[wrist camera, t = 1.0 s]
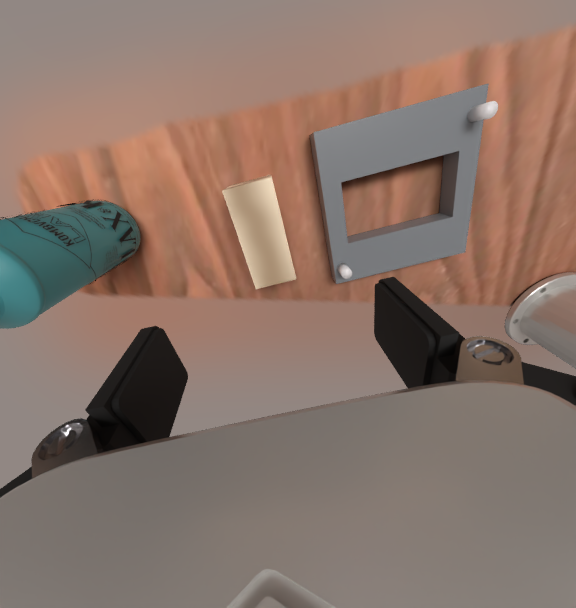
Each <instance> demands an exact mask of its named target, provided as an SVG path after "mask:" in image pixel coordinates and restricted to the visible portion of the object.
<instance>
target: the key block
mask: <svg viewBox="0 0 576 608" xmlns="http://www.w3.org/2000/svg"><path fill="white" fill-rule="evenodd" d="M222 192H223V195H224V198H225V200H226V203H227V206H228V209H229V212H230V215H231V218H232V221H233V224H234V227H235V230H236V233H237V235H238V238H239V241H240V244H241V247H242V250H243V253H244V256H245V259H246V262H247V265H248V268H249V270H250V273H251V276H252V279H253V282H254V285H255V288H256V289H259V288H263V287H267V286H271V285H275V284H279V283H283V282H287V281H291V280H295V279H296V276H295V271H294V267H293V263H292V259H291V255H290V251H289V247H288V242H287V238H286V234H285V230H284V226H283V222H282V218H281V214H280V209H279V205H278V201H277V197H276V193H275V189H274V185H273V181H272V177H271V175H267V176H264V177H260V178H256V179H253V180H249V181H245V182H242V183H238V184H235V185H231V186H229V187H227V188H226V189H224V190H223V191H222Z"/></svg>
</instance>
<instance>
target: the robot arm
mask: <svg viewBox="0 0 576 608" xmlns="http://www.w3.org/2000/svg"><path fill="white" fill-rule="evenodd" d="M374 317H375V318H374V334H375V337H376V340H377V342H378V343H379V345H380V346H381V348H382V349H383V351H384V353H385V354H386V355H387V357H388V359H389V360H390V361H391V363H392V365H393V366H394V368H395V369H396V371H397V372H398V374H399V375H400V377H401V378H402V380H403V381H404V383H405V384H406V386H407V387H408V389H403V390H397V391H392V392H386V393H381V394H376V395H371V396H366V397H361V398H356V399H351V400H346V401H341V402H336V403H331V404H326V405H321V406H316V407H311V408H306V409H302V410H297V411H292V412H287V413H282V414H277V415H272V416H267V417H263V418H258V419H254V420H248V421H244V422H239V423H234V424H229V425H225V426H220V427H215V428H210V429H206V430H201V431H196V432H192V433H187V434H183V435H177V436H173V437H169V436H170V433H171V429H172V426H173V423H174V420H175V417H176V414H177V411H178V407H179V405H180V401H181V398H182V395H183V392H184V389H185V386H186V383H187V379H188V374H187V371H186V369H185V367H184V366H183V364H182V362H181V360H180V358H179V357H178V355H177V353H176V352H175V349H174V348H173V346H172V344H171V342H170V341H169V338H168V337H167V335H166V333H165V331H164V330H163V329H161V328H159V327H157V326H154V327H148V328H144V329H141V330H140V332H139V333H138V335H137V336H136V337H135V339H134V340H133V342H132V343H131V345H130V346H129V348H128V349H127V351H126V352H125V353H124V355H123V356H122V358H121V359H120V361H119V362H118V364H117V365H116V366H115V368H114V369H113V371H112V372H111V374H110V375H109V376H108V378H107V379H106V381H105V382H104V384H103V385H102V387H101V388H100V389H99V391H98V392H97V394H96V395H95V397H94V398H93V400H92V401H91V403H90V404H89V405H88V407H87V408H86V411H87V413H88V414H89V417H88V418H87V420H85V419H82V418H80V419H74V420H71V421H68V422H66V423H64V424H62V425H61V426H59V427H58V428H56V429H55V430H53V431H52V432H51V433H50V434H48V435H47V436H46V437H45V438H44V439H43V440H42V441H41V442H40V444H39V445H38V446H37V447H36V449H35V451H34V452H33V455H32V460H31V461H32V467H30V468H29V469H28V470H26V471H25V472H24V473H22V474H21V475H19V476H18V477H17V478H15V479H14V480H12V481H11V482H10V483H8V484H7V485H6V486H4V487H3V488H1V489H0V608H576V376H572V375H569V374H564V373H561V372H557V371H554V370H550V369H546V368H542V367H539V366H535V365H531V364H527V363H523V362H521V357H520V355H519V353H518V352H517V351H516V350H515V349H514V348H513V347H512V346H510V345H509V344H507V343H505V342H503V341H500V340H498V339H494V338H490V337H483V336H477V337H470V338H467V339H465V338H464V337H463V336H461V335H460V334H459V332H458V331H456V330H455V329H454V328H453V327H452V326H450V325H449V324H448V323H447V322H446V321H445V320H443V319H442V318H441V317H440V316H439V315H438V314H437V313H435V312H434V311H433V310H432V309H431V308H430V307H428V306H427V305H426V304H425V303H424V302H423V301H421V300H420V299H419V298H418V297H417V296H416V295H414V294H413V293H412V292H411V291H410V290H409V289H407V288H406V287H405V286H404V285H403V284H402V283H400V282H399V281H398V280H397V279H396V278H394V277H391V278H386V279H381V280H379V283H378V284H375V316H374ZM505 330H506V333H507V334H508V336H509V337H510V338H512V339H513V340H514V341H516V342H518V343H520V344H525V345H535V344H539V345H541V346H542V347H544V348H545V349H547V350H548V351H550V352H551V353H553V354H554V355H556V356H557V357H559V358H560V359H562V360H563V361H565V362H566V363H568V364H569V365H571V366H572V367H574V368H575V369H576V273H574V272H568V273H561V274H557V275H554V276H551V277H548V278H546V279H544V280H542V281H540V282H538V283H536V284H535V285H533V286H532V287H530V288H529V289H528V290H527V291H525V292H524V293H523V294H522V295H521V296H520V297H519V298H518V299H517V300H516V301H515V303H514V304H513V305H512V307H511V308H510V310H509V312H508V314H507V317H506V320H505Z"/></svg>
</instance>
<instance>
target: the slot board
mask: <svg viewBox="0 0 576 608" xmlns="http://www.w3.org/2000/svg"><path fill="white" fill-rule="evenodd" d="M488 84H489V83H488ZM488 84H485V85H481V86H478V87H474V88H471V89H467V90H464V91H460V92H456V93H453V94H449V95H446V96H442V97H439V98H435V99H431V100H428V101H424V102H421V103H417V104H414V105H410V106H406V107H403V108H399V109H396V110H392V111H389V112H385V113H381V114H378V115H374V116H371V117H367V118H364V119H360V120H356V121H353V122H349V123H346V124H342V125H339V126H335V127H332V128H328V129H324V130H321V131H317V132H314V133H312V134H311V135H310V142H311V148H312V154H313V161H314V167H315V173H316V180H317V186H318V192H319V198H320V205H321V211H322V217H323V224H324V230H325V236H326V243H327V249H328V255H329V262H330V268H331V274H332V277H333V279H334V281H335V282H336V284H338V283H342V282H346V281H350V280H355V279H359V278H363V277H367V276H371V275H375V274H379V273H383V272H387V271H391V270H395V269H399V268H403V267H407V266H411V265H415V264H420V263H424V262H428V261H432V260H436V259H440V258H444V257H448V256H452V255H456V254H460V253H464V252H465V250H466V243H467V236H468V228H469V221H470V214H471V207H472V200H473V192H474V185H475V178H476V171H477V163H478V156H479V149H480V142H481V135H482V127H483V120H484V119H489V118H492V117H493V116H494V115H495V114H496V112H497V110H498V104H497V102H496V101H491V102H488V103H486V98H487V91H488ZM442 155H444V157H443V170H442V183H441V197H440V210H439V213H438V214H434V215H430V216H426V217H422V218H418V219H414V220H410V221H406V222H402V223H398V224H395V225H391V226H387V227H383V228H379V229H375V230H371V231H367V232H363V233H359V234H355V235H352V236H348V237H347V231H346V222H345V213H344V204H343V195H342V186H341V182H345V181H348V180H352V179H356V178H359V177H363V176H367V175H371V174H374V173H378V172H382V171H386V170H389V169H393V168H397V167H401V166H404V165H408V164H412V163H415V162H419V161H423V160H427V159H430V158H434V157H438V156H442Z"/></svg>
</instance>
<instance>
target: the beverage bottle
mask: <svg viewBox="0 0 576 608" xmlns="http://www.w3.org/2000/svg"><path fill="white" fill-rule="evenodd" d="M98 200H99V199H98ZM75 204H76V203H72V204H66V205H71V206H66V205H60V206H66V207H61V208H56V209H52V210H47V211H44V210H43V211H38V212H34V213H30V214H27V215H26V214H25V215H19V216H16V217H12V218H8V219H7V218H5V219H3V220H1V219H0V328H16V327H20V326H24V325H26V324H28V323H30V322H32V321H33V320H35V319H36V318H37V317H38V316H39V315H40V314H42V313H43V312H45V311H46V310H48V309H49V308H51V307H53V306H54V305H56V304H57V303H59V302H60V301H62V300H63V299H65V298H66V297H68V296H69V295H71V294H73V293H74V292H76V291H77V290H79V289H80V288H82V287H84V286H85V285H87V284H89V283H90V284H91V282H92V281H93V282H94V280H95V279H96V280H97V278H98V277H99V278H100V276H101V275H102V276H103V275H106V272H107V271H108V272H109V270H110V269H111V270H112V268H113V267H114V268H115V266H118V265H119V264H121V262H123V263H124V262H126V259H127V258H129V257H130V256H132V255H133V254H134V253H136V251H137V249H138V247H139V246H140V245H139V244H140V231H139V228H138V226H137V224H136V222H135V220H134V219H133V218H132V217H131V215H130V214H129V213H128V212H126V211H125V210H124V209H122V208H121V207H119V206H117V205H115V204H113V203H111V202H110V203H109V202H105V200H104V201H100V200H99V201H89V200H88V201H86V202H84V203H81V204H76V205H75ZM57 207H58V206H57ZM25 213H26V212H25ZM3 218H4V217H3ZM132 257H133V256H132ZM124 260H125V261H124ZM128 260H129V259H128ZM123 263H122V264H123ZM119 266H120V265H119ZM116 268H117V267H116ZM104 273H105V274H104ZM107 274H108V273H107ZM96 280H95V281H96ZM92 284H93V283H92Z"/></svg>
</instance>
